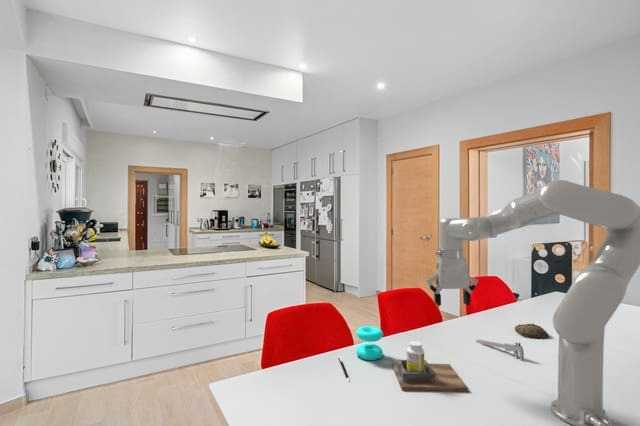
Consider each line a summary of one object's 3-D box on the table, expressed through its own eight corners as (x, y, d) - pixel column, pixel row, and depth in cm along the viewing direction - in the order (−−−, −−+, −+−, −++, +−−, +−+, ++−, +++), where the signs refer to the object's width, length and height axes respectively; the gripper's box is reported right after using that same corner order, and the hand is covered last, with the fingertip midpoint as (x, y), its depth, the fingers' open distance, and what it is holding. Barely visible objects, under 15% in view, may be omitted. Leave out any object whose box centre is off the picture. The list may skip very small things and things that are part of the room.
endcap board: (467, 391, 102) (467, 379, 102) (401, 390, 103) (402, 378, 103) (449, 367, 118) (449, 356, 118) (392, 366, 119) (392, 355, 119)
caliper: (523, 361, 125) (523, 344, 125) (521, 361, 124) (522, 344, 124) (476, 341, 143) (476, 327, 143) (474, 342, 142) (475, 327, 142)
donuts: (388, 332, 125) (364, 335, 121) (387, 359, 125) (364, 363, 121) (374, 323, 134) (352, 326, 131) (374, 348, 134) (351, 352, 131)
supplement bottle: (420, 369, 114) (420, 339, 114) (427, 377, 108) (427, 346, 108) (404, 370, 113) (404, 340, 113) (410, 378, 108) (410, 346, 108)
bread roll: (520, 338, 147) (520, 326, 147) (511, 328, 159) (512, 318, 159) (553, 341, 144) (554, 329, 144) (542, 331, 156) (542, 320, 156)
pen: (340, 357, 127) (340, 354, 127) (350, 382, 108) (350, 379, 108) (337, 357, 127) (337, 354, 127) (347, 383, 108) (347, 379, 108)
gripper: (430, 256, 111) (430, 308, 111) (482, 255, 111) (483, 307, 111) (422, 253, 118) (423, 302, 118) (471, 252, 119) (472, 301, 118)
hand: (452, 304), depth 115 cm, fingers open, 9 cm apart
